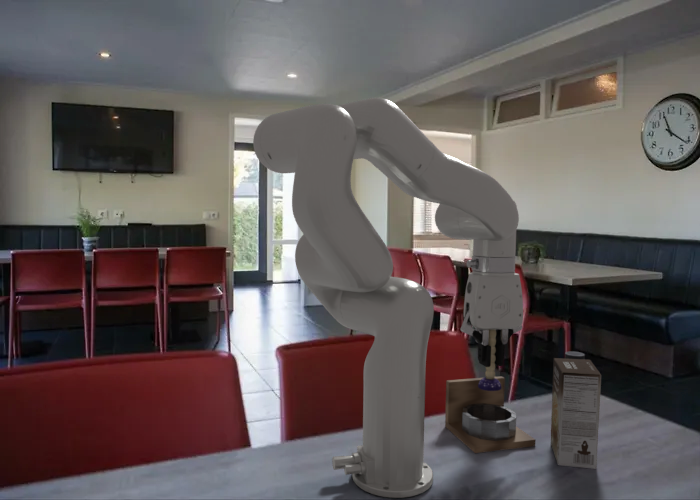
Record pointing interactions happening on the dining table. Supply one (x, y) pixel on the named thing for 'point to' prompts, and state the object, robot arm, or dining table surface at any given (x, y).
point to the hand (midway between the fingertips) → (490, 363)
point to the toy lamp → (490, 368)
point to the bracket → (470, 393)
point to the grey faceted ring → (489, 422)
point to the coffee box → (575, 412)
